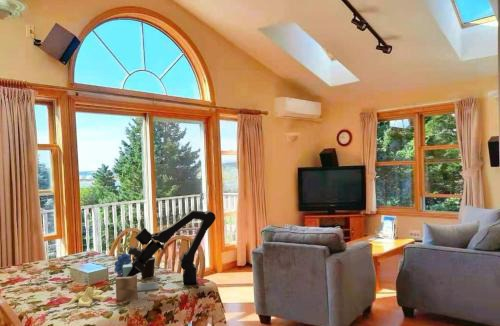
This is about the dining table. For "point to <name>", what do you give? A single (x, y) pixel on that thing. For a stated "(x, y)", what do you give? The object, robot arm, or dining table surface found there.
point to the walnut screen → (126, 288)
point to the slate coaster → (147, 287)
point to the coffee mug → (149, 268)
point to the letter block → (126, 269)
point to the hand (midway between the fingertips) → (127, 274)
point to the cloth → (88, 297)
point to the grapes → (122, 262)
